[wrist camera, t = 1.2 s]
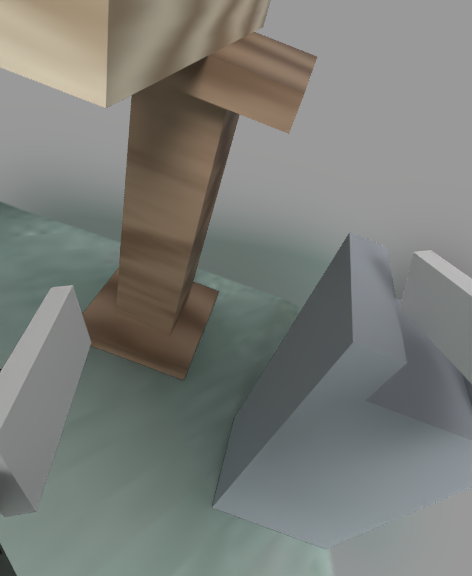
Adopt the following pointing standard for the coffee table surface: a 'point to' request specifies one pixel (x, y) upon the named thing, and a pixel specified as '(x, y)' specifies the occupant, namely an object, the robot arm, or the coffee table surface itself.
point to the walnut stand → (185, 194)
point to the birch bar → (117, 40)
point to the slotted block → (349, 414)
